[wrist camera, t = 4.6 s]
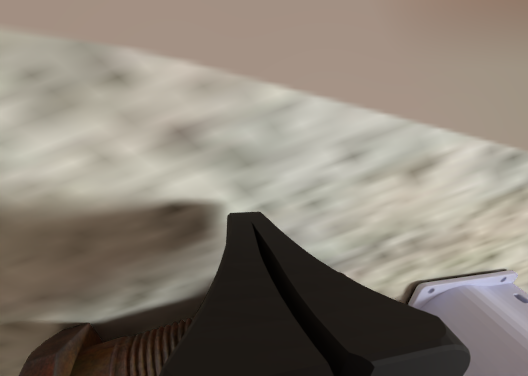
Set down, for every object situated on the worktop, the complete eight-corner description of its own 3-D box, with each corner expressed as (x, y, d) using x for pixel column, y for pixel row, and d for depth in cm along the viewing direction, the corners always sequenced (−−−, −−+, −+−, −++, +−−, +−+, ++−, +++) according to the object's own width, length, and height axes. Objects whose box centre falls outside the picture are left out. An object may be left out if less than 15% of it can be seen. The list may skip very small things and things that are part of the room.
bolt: (321, 261, 18) (86, 332, 15) (344, 233, 13) (19, 325, 11) (362, 357, 15) (78, 470, 12) (407, 360, 11) (-18, 536, 8)
